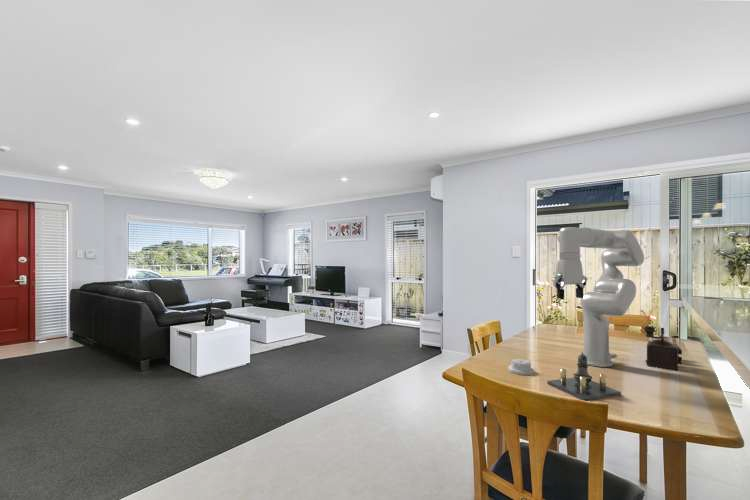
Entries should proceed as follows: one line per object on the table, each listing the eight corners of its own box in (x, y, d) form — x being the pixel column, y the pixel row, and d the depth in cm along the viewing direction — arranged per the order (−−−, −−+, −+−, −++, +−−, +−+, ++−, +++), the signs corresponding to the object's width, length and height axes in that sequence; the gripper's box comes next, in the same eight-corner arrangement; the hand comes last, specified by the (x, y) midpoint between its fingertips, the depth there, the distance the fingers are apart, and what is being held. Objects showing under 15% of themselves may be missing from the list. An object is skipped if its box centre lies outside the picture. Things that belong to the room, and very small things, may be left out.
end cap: (658, 356, 167) (658, 342, 168) (678, 359, 164) (677, 344, 164) (661, 362, 159) (661, 347, 159) (682, 364, 155) (681, 349, 155)
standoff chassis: (581, 379, 136) (581, 363, 136) (620, 395, 121) (620, 377, 121) (547, 384, 132) (547, 367, 132) (583, 400, 116) (583, 381, 116)
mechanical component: (510, 374, 143) (536, 376, 141) (510, 363, 143) (536, 365, 141) (506, 367, 152) (531, 368, 150) (506, 357, 153) (530, 358, 151)
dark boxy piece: (646, 360, 161) (646, 321, 161) (678, 365, 154) (677, 324, 154) (643, 368, 150) (642, 326, 150) (677, 374, 142) (676, 329, 142)
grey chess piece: (589, 384, 128) (589, 350, 128) (594, 389, 123) (594, 355, 123) (571, 382, 130) (571, 349, 130) (575, 387, 124) (575, 353, 125)
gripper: (578, 257, 153) (579, 296, 152) (545, 257, 148) (546, 298, 148) (593, 257, 145) (594, 298, 145) (559, 257, 141) (560, 300, 140)
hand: (570, 298), depth 146 cm, fingers open, 9 cm apart
